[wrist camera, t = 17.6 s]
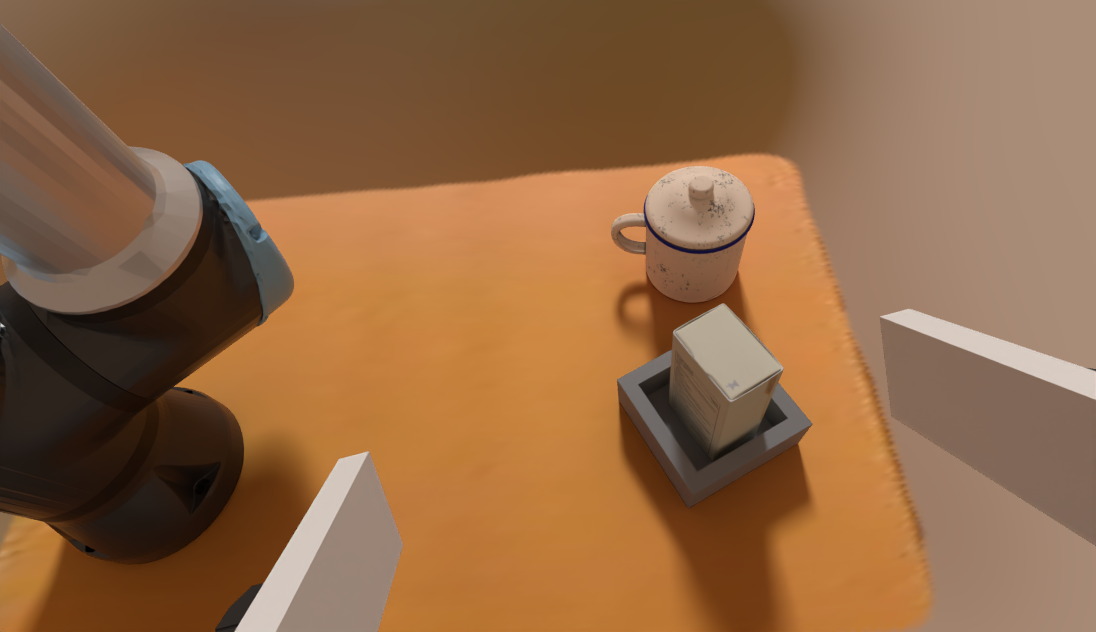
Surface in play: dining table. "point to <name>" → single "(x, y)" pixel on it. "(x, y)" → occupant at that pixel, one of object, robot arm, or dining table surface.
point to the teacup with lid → (691, 232)
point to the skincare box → (720, 380)
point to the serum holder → (680, 451)
